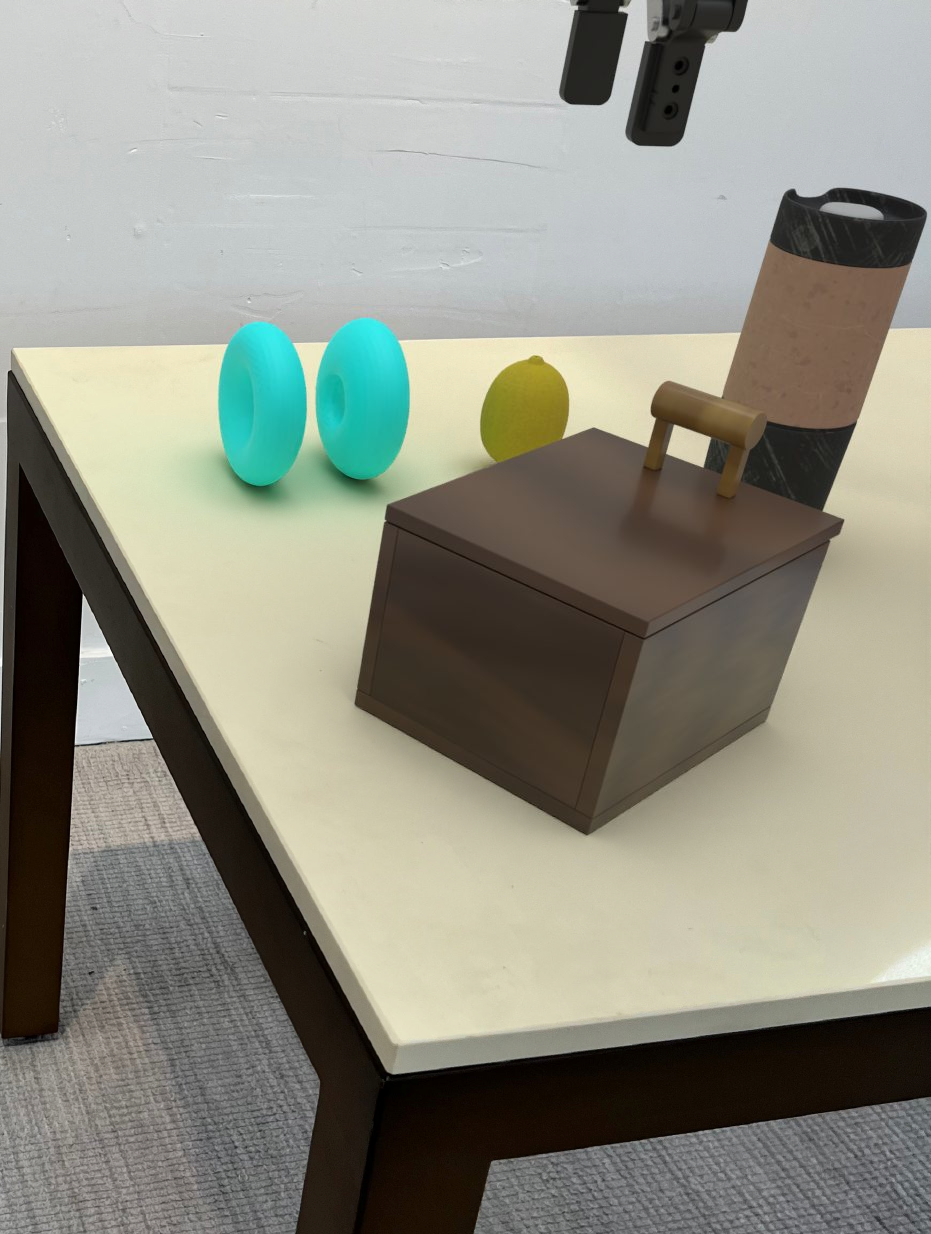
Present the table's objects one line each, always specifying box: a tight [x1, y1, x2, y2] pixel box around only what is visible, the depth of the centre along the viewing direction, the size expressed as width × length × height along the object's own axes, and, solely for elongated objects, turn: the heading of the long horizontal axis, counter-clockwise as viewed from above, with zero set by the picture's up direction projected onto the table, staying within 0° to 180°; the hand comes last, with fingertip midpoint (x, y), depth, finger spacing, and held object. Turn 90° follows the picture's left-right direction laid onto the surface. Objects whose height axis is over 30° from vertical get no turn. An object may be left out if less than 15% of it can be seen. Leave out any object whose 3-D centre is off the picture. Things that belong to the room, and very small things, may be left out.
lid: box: [384, 380, 845, 638], centre depth 67 cm, size 17×14×5 cm
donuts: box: [217, 317, 411, 487], centre depth 94 cm, size 10×10×10 cm
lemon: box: [479, 354, 570, 464], centre depth 96 cm, size 6×6×8 cm
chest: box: [354, 520, 831, 835], centre depth 71 cm, size 16×14×10 cm
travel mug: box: [702, 187, 928, 512], centre depth 86 cm, size 8×8×20 cm
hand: (615, 122), depth 64 cm, fingers open, 8 cm apart
